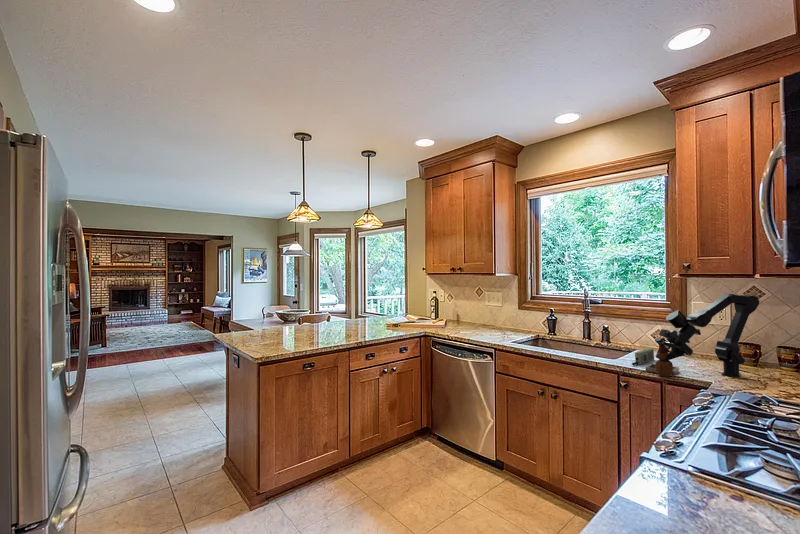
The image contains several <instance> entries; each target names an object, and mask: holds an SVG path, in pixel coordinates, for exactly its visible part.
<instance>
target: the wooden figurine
mask: <svg viewBox="0 0 800 534" xmlns="http://www.w3.org/2000/svg"><path fill="white" fill-rule="evenodd" d="M668 354H669V352H668V353H667V349H665V347H663V345H662V348H661V345H660V352H659V353H658V358H657V359H658V360H656V361H655V363H654V364H655V368H656V372H657V375H658V376H660V377H662V378H670V377H671V376H673V375H672V372H673V367H674V365H673V363H672V361H671V360H668V361H665V360H664V359H665V358H666V356H667V355H668Z"/></svg>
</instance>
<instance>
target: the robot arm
mask: <svg viewBox="0 0 800 534" xmlns="http://www.w3.org/2000/svg"><path fill="white" fill-rule="evenodd" d="M731 304H733V305H734V310H735V313H734V314H733V317H732V320H731V322H730V325H729V327H728V329H727V331H726V332H727V333H726V334H725V338H724V339H722V341H721V340H717V341H716V345H715V347H714V353H715V355H716V357H717V358H718V359H717V360H718V361H721V362H722V363H723V364H722V365H723V368H722V369H723V372H722V373H721V375H722V376H724V377H725V376H727V377H734V378H741V377H742V374H741V372H740V365H744V364H745V361H746V359H745V358H744V357H743V356H742V355H741V354H740V346H739V341H740V339H741V336H742V334H743V331H744V329H745V327H746V324H747V321H748V319H749V317H750V315H752V314H753V312H755V311H756V310H757V308H758V306H759V305H760V299H759V298H758V296H756V295H753V294H752V295H751V294H750V295H749V294H740V295H739V294H738V295H737V294H734V293H724V294H722V295H721V296H720V297H719V298H717V299H716V300H715V301H713V302H712V303H710V304H709V305H708V306H706V307H704V308H703V309H701V310H698V311H695V312H693V313H691V314H689V315H688V316H685V315H684V314H683V313H682V311H680V310H679V309H678V310H677V309H676V310H675V311H673V312H670V313H669V314H668V315H666V318H665V320H666V321H667V322H669V323H670V325H672V326H673V327H674V328H675V329H678V330H674V329H670V330H669V329H664V328H661V329H660V331H659V333H658V335H659V336H661V337H656V338H655V339H654V342H655V343H656V344H658V350H657V352H656V355H655V358H656V359H658V353H659V352H660V345H661V348H662V345H663V347H665V349H667V353H669V354H668V355H667V356H666V358H665V359H664V360H665V361H668V360H669V361H671V360H674V359H676V358H679V357H685V356H688V357H689V356H690V357H691V356H692V355H693V354H694V349H692V348H691V347H690V346H689V345H688V344H690V343H691V341H690V339H691V338H692V337H694V336H695V335H698V336H702V333H701V329H699V327H700V328H705V327H707V326H708V325H709V324H710V323H711V322H712V318H713V317H715V316H716V315H717V314H719V313H720V312H722V311H723V310H724V309H726V308H728V307H729V306H730V305H731ZM697 327H698V328H697ZM670 349H671V350H670Z"/></svg>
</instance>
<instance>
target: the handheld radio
mask: <svg viewBox="0 0 800 534" xmlns="http://www.w3.org/2000/svg"><path fill="white" fill-rule="evenodd" d="M654 350H655V349H654V348H653V347H652V348H651V347H650V348H649V347H648V348H645V349H642V350H639V351H637V352H635V353H634V357H635V360H634V362H632V363H631V365H632V366H636V365H638V366H641V365H645V364H647V363H649V361H650V362H652V360H653V361H655V351H654Z"/></svg>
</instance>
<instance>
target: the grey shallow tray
mask: <svg viewBox="0 0 800 534" xmlns="http://www.w3.org/2000/svg"><path fill="white" fill-rule="evenodd" d="M679 369H680V368H679V367H678V366H673V372H672V375H671V376H675V375H676V374H677V373H679ZM645 372H648V373H655V374H656V373H657V372H656V368H655V363H651V364H649V365H647V366H645Z"/></svg>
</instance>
